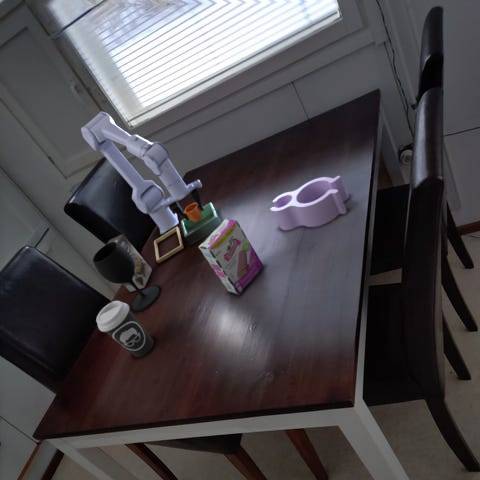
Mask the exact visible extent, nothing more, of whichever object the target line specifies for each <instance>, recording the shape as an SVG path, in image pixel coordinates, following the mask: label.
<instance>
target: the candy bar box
mask: <svg viewBox="0 0 480 480" xmlns="http://www.w3.org/2000/svg"><path fill="white" fill-rule="evenodd" d="M197 248H198V249H199V250H200V252H201V253H202V255H203V256H204V258H205V259H206V261H207V263H208V264H209V265H210V267H211V268H212V269H213V271H214V272H215V274H216V275H217V277H218V278H219V280H220V281H221V283H222V284H223V285H224V287H225V288H226V290H227V291H228V292H229V293H232V294H236V295H238V296H240V295H241V294H242V292H243V291H244V290H245V289H246V288H247V287H248V286H249V285H250V283H252V282H253V280H254V279H255V278H256V276H257V275H259V273H260V272H261V271H262V270H263V268H265V266H264V264H263V262H262V260H261V259H260V256H259V255H258V254H257V253H256V250H255V249H254V247H253V246H252V244H251V242H250V240H249V238H248V237H247V235H246V234H245V232H244V230H243V228H242V227H241V225H240V223H239V221H238V220H237V219H228V218H225V219H223V221H221V224H220V225H219V226H218V227H217V229H215V230H214V231H212V232H211V233H210V234H209V235H208V237H206V239H204V240H203V242H202V243H201V244H200V245H199V246H198V247H197Z"/></svg>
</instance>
